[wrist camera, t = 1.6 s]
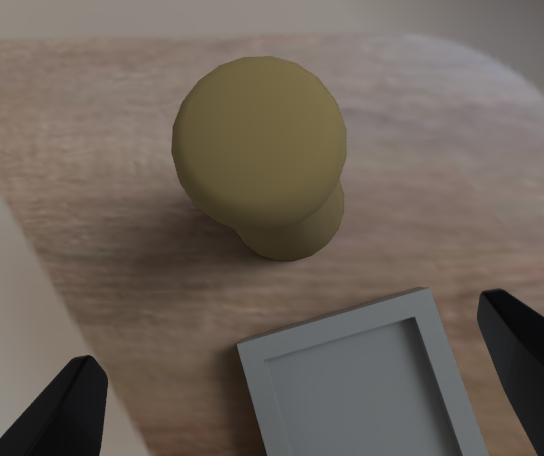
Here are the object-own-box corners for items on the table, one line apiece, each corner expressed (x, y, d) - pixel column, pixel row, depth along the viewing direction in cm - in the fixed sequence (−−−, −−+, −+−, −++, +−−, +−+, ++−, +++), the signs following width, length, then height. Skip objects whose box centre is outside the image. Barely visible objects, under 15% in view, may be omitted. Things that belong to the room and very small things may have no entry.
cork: (258, 281, 21) (192, 281, 11) (210, 178, 22) (106, 82, 12) (365, 229, 21) (411, 174, 10) (312, 127, 22) (303, -21, 11)
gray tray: (494, 501, 19) (514, 527, 17) (303, 549, 20) (301, 579, 18) (419, 287, 20) (429, 287, 18) (244, 338, 21) (236, 344, 19)
